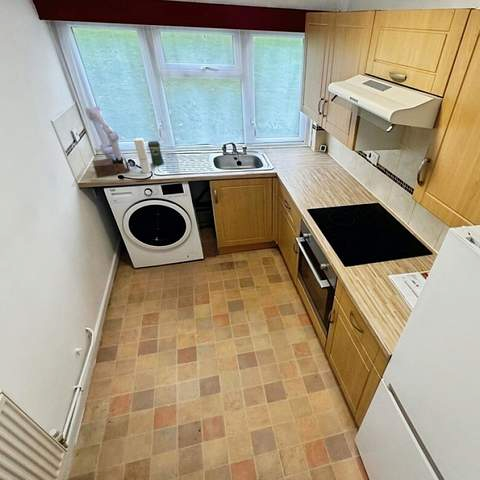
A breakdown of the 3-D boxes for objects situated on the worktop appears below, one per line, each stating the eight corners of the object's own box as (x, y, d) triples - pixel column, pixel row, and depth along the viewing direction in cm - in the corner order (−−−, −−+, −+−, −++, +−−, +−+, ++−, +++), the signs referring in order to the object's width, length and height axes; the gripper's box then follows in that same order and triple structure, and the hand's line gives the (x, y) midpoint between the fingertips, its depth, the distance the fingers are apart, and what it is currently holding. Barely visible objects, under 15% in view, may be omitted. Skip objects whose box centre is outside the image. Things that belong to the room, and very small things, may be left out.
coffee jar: (163, 161, 264) (159, 139, 252) (164, 164, 258) (159, 142, 246) (152, 162, 261) (147, 140, 250) (152, 165, 255) (147, 143, 244)
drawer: (132, 165, 252) (130, 157, 248) (135, 170, 243) (132, 162, 239) (111, 168, 246) (108, 160, 241) (113, 173, 237) (110, 165, 232)
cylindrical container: (152, 169, 248) (144, 138, 232) (149, 172, 242) (141, 140, 227) (144, 169, 248) (135, 137, 232) (140, 172, 242) (132, 140, 227)
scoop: (124, 166, 246) (121, 155, 240) (125, 168, 243) (121, 156, 237) (113, 168, 243) (109, 156, 237) (113, 170, 240) (109, 158, 234)
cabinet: (114, 168, 247) (111, 158, 242) (116, 174, 238) (112, 163, 232) (96, 171, 242) (92, 160, 237) (97, 177, 232) (93, 166, 227)
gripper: (122, 151, 231) (127, 168, 240) (120, 146, 241) (125, 162, 250) (113, 152, 228) (118, 169, 237) (111, 147, 238) (116, 164, 247)
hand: (121, 166), depth 243 cm, fingers closed on scoop, 4 cm apart
